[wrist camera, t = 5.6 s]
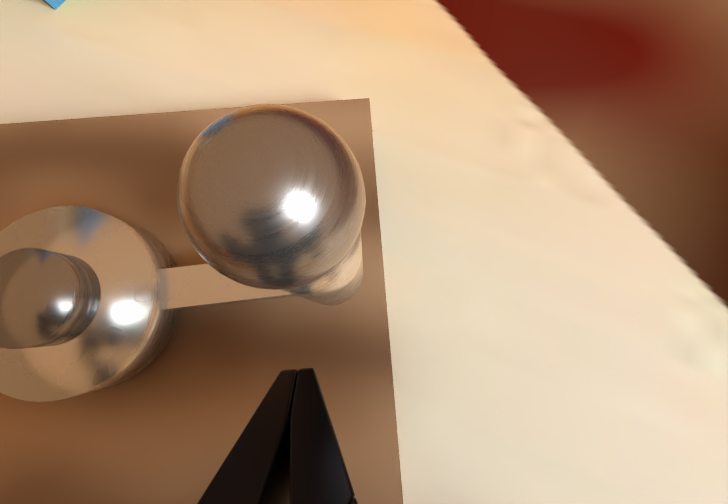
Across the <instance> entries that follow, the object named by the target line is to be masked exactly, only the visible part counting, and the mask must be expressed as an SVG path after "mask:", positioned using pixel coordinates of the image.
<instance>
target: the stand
mask: <svg viewBox="0 0 728 504" xmlns="http://www.w3.org/2000/svg"><path fill="white" fill-rule="evenodd" d="M281 105H285V106H290V107H293V108H296V109H300V110H303V111H305V112H307V113H310V114H312V115H314V116H316V117H317V118H319V119H321V120H322V121H324V122H325V123H326V124H328V125H329V126H330V127H331V128H332V129H334V130H335V131H336V132H337V133H338V134H339V135H340V136H341V137H342V138H343V140H344V141H345V142H346V143H347V145H348V146H349V148H350V149H351V151H352V152H353V154H354V156H355V158H356V160H357V162H358V164H359V167H360V170H361V173H362V176H363V181H364V187H365V196H366V204H365V214H364V218H363V223H362V227H361V243H362V259H363V280H362V284H361V286H360V288H359V290H358V291H357V293H356V294H355V295H354V296H353V297H352V298H351V299H350V300H348V301H346V302H344V303H342V304H339V305H333V306H329V305H322V304H319V303H316V302H314V301H311V300H308V299H305V298H302V297H299V296H293V297H285V298H277V299H268V300H260V301H251V302H243V303H234V304H226V305H217V306H209V307H200V308H192V309H183V310H180V315H179V319H178V322H177V325H176V328H175V330H174V332H173V334H172V337H171V338H170V340H169V342H168V343H167V345H166V347H165V348H164V349H163V351H162V352H161V353H160V355H159V356H158V357H157V358H156V359H155V360H154V361H153V362H152V363H151V364H150V365H149V366H148V367H147V368H145V369H144V370H143V371H142V372H140V373H139V374H137V375H136V376H134V377H132V378H131V379H129V380H127V381H125V382H122V383H120V384H117V385H114V386H111V387H108V388H104V389H100V390H97V391H93V392H89V393H85V394H81V395H78V396H74V397H70V398H66V399H61V400H56V401H47V402H34V401H24V400H20V399H16V398H12V397H10V396H7V395H5V394H2V393H0V504H197V503H198V501H199V500H200V498H201V497H202V495H203V493H204V492H205V490H206V489H207V487H208V485H209V484H210V482H211V481H212V479H213V478H214V476H215V474H216V473H217V471H218V470H219V468H220V466H221V465H222V463H223V462H224V460H225V459H226V457H227V455H228V454H229V452H230V451H231V449H232V447H233V446H234V444H235V443H236V441H237V439H238V438H239V436H240V435H241V433H242V432H243V430H244V428H245V427H246V425H247V424H248V422H249V420H250V419H251V417H252V416H253V414H254V413H255V411H256V409H257V408H258V406H259V405H260V403H261V401H262V400H263V398H264V397H265V395H266V393H267V392H268V390H269V389H270V387H271V386H272V384H273V382H274V381H275V379H276V378H277V376H278V374H279V373H280V372H281V371H282V370H289V369H297V370H299V369H301V368H314V369H315V371H316V374H317V377H318V381H319V384H320V387H321V390H322V393H323V396H324V399H325V402H326V405H327V408H328V411H329V415H330V418H331V421H332V424H333V427H334V430H335V433H336V436H337V439H338V442H339V445H340V449H341V452H342V455H343V458H344V461H345V464H346V467H347V470H348V473H349V476H350V479H351V483H352V486H353V489H354V492H355V496H356V498H357V501H358V504H403V496H402V484H401V472H400V460H399V448H398V436H397V424H396V412H395V400H394V388H393V376H392V365H391V353H390V341H389V329H388V317H387V305H386V293H385V281H384V269H383V257H382V245H381V233H380V221H379V209H378V197H377V186H376V174H375V162H374V150H373V138H372V126H371V114H370V102H369V98H366V99H352V100H337V101H323V102H309V103H295V104H281ZM240 108H243V107H238V108H224V109H210V110H196V111H181V112H167V113H153V114H139V115H125V116H110V117H96V118H82V119H68V120H54V121H39V122H25V123H11V124H0V231H2V230H3V229H4V228H6V227H7V226H8V225H10V224H11V223H13V222H15V221H17V220H18V219H20V218H22V217H24V216H26V215H29V214H31V213H33V212H37V211H40V210H43V209H47V208H53V207H59V206H78V207H85V208H90V209H94V210H97V211H100V212H103V213H105V214H108V215H110V216H113V217H115V218H118V219H120V220H123V221H125V222H127V223H130V224H132V225H135V226H137V227H140V228H142V229H143V230H145V231H147V232H149V233H150V234H152V235H153V236H154V237H156V238H157V239H158V240H159V241H160V242H161V243H162V244H163V245H164V246H165V247H166V249H167V250H168V251H169V252H170V254H171V256H172V258H173V259H174V261H175V264H176V266H177V267H183V266H192V265H200V264H208V263H207V262H206V261H205V260H204V259H203V258H202V257H201V256H200V255H199V254H198V252H197V251H196V250H195V249H194V247H193V246H192V244H191V243H190V241H189V239H188V237H187V235H186V233H185V231H184V228H183V226H182V223H181V221H180V216H179V212H178V206H177V181H178V175H179V171H180V168H181V165H182V161H183V159H184V157H185V155H186V153H187V151H188V149H189V148H190V146H191V145H192V143H193V141H194V140H195V139H196V138H197V136H198V135H199V134H200V133H201V132H202V131H203V130H204V129H205V128H206V127H207V126H208V125H209V124H211V123H212V122H213V121H215V120H216V119H218V118H219V117H221V116H223V115H225V114H227V113H229V112H231V111H234V110H236V109H240Z"/></svg>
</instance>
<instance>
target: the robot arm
mask: <svg viewBox="0 0 728 504" xmlns="http://www.w3.org/2000/svg"><path fill="white" fill-rule="evenodd" d="M197 504H358V501H357V498H356V496H355V492H354V489H353V486H352V483H351V479H350V476H349V473H348V470H347V467H346V464H345V461H344V458H343V455H342V452H341V449H340V445H339V442H338V439H337V436H336V433H335V430H334V427H333V424H332V421H331V418H330V415H329V411H328V408H327V405H326V402H325V399H324V396H323V393H322V390H321V387H320V384H319V381H318V377H317V374H316V371H315V369H314V368H301V369H299V370H297V369H289V370H282V371H281V372H280V373H279V374H278V376H277V378H276V379H275V381H274V382H273V384H272V386H271V387H270V389H269V390H268V392H267V393H266V395H265V397H264V398H263V400H262V401H261V403H260V405H259V406H258V408H257V409H256V411H255V413H254V414H253V416H252V417H251V419H250V420H249V422H248V424H247V425H246V427H245V428H244V430H243V432H242V433H241V435H240V436H239V438H238V439H237V441H236V443H235V444H234V446H233V447H232V449H231V451H230V452H229V454H228V455H227V457H226V459H225V460H224V462H223V463H222V465H221V466H220V468H219V470H218V471H217V473H216V474H215V476H214V478H213V479H212V481H211V482H210V484H209V485H208V487H207V489H206V490H205V492H204V493H203V495H202V497H201V498H200V500H199V501H198V503H197Z"/></svg>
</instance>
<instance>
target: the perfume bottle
mask: <svg viewBox="0 0 728 504" xmlns="http://www.w3.org/2000/svg"><path fill="white" fill-rule="evenodd" d="M43 1H44V2H46V3H47V4H48V5H50V6H51V7H52V8H53V9H55V10H56V9H57V8H58V7H59V6H60V5H61V4H62V3H63V2H64V1H65V0H43Z"/></svg>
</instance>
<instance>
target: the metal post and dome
mask: <svg viewBox="0 0 728 504" xmlns="http://www.w3.org/2000/svg"><path fill="white" fill-rule="evenodd" d="M365 204H366V196H365V187H364V181H363V176H362V173H361V170H360V167H359V164H358V162H357V160H356V158H355V156H354V154H353V152H352V151H351V149H350V148H349V146H348V145H347V143H346V142H345V141H344V140H343V138H342V137H341V136H340V135H339V134H338V133H337V132H336V131H335V130H334V129H332V128H331V127H330V126H329V125H328V124H326V123H325V122H324V121H322V120H321V119H319V118H317V117H316V116H314V115H312V114H310V113H307V112H305V111H303V110H300V109H296V108H293V107H290V106H285V105H277V104H259V105H253V106H247V107H243V108H240V109H236V110H234V111H231V112H229V113H227V114H225V115H223V116H221V117H219V118H218V119H216V120H215V121H213V122H212V123H211V124H209V125H208V126H207V127H206V128H205V129H204V130H203V131H202V132H201V133H200V134H199V135H198V136H197V138H196V139H195V140H194V141H193V143H192V145H191V146H190V148H189V149H188V151H187V153H186V155H185V157H184V159H183V161H182V165H181V168H180V171H179V175H178V181H177V206H178V212H179V216H180V221H181V223H182V226H183V228H184V231H185V233H186V235H187V237H188V239H189V241H190V243H191V244H192V246H193V247H194V249H195V250H196V251H197V252H198V254H199V255H200V256H201V257H202V258H203V259H204V260H205V261H206V262H207V263H208V264H200V265H192V266H183V267H177V266H176V264H175V261H174V259H173V258H172V256H171V254H170V252H169V251H168V250H167V249H166V247H165V246H164V245H163V244H162V243H161V242H160V241H159V240H158V239H157V238H156V237H154V236H153V235H152V234H150V233H149V232H147V231H145V230H143V229H142V228H140V227H137V226H135V225H132V224H130V223H127V222H125V221H123V220H120V219H118V218H115V217H113V216H110V215H108V214H105V213H103V212H100V211H97V210H94V209H90V208H85V207H78V206H59V207H53V208H47V209H43V210H40V211H37V212H33V213H31V214H29V215H26V216H24V217H22V218H20V219H18V220H17V221H15V222H13V223H11V224H10V225H8V226H7V227H6V228H4V229H3V230H2V231H0V393H2V394H5V395H7V396H10V397H12V398H16V399H20V400H24V401H34V402H47V401H56V400H61V399H66V398H70V397H74V396H78V395H81V394H85V393H89V392H93V391H97V390H100V389H104V388H108V387H111V386H114V385H117V384H120V383H122V382H125V381H127V380H129V379H131V378H132V377H134V376H136V375H137V374H139V373H140V372H142V371H143V370H144V369H145V368H147V367H148V366H149V365H150V364H151V363H152V362H153V361H154V360H155V359H156V358H157V357H158V356H159V355H160V353H161V352H162V351H163V349H164V348H165V347H166V345H167V343H168V342H169V340H170V338H171V337H172V334H173V332H174V330H175V328H176V325H177V322H178V319H179V315H180V310H183V309H192V308H200V307H209V306H217V305H226V304H234V303H243V302H251V301H260V300H268V299H277V298H285V297H293V296H299V297H302V298H305V299H308V300H311V301H314V302H316V303H319V304H322V305H329V306H333V305H339V304H342V303H344V302H346V301H348V300H350V299H351V298H352V297H353V296H354V295H355V294H356V293H357V291H358V290H359V288H360V286H361V284H362V280H363V259H362V243H361V227H362V223H363V218H364V214H365Z"/></svg>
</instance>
